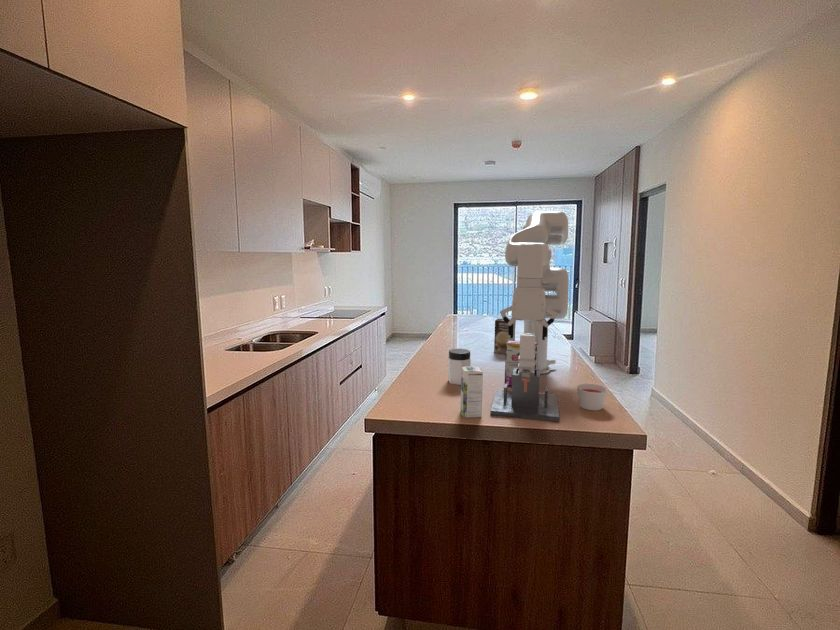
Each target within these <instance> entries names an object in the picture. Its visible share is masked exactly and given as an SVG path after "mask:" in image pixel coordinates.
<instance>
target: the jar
mask: <svg viewBox="0 0 840 630" xmlns="http://www.w3.org/2000/svg"><path fill="white" fill-rule="evenodd" d="M447 358H448V359H447V360H448V362H447V363H448V365H447V366H448V369H447V371H448V372H447V373H448V376H447V377H448V379H447V380H448V382H449V384H450V385H457V386H461V376H462V367H466V366H471V365H472V364H471V363H472V362H471V350H469V349H466V348H452V349H450V350H448V357H447Z"/></svg>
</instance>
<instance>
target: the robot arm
mask: <svg viewBox="0 0 840 630" xmlns="http://www.w3.org/2000/svg"><path fill="white" fill-rule="evenodd" d="M568 219H569V218H568V216H567V215H566V213H565V212H564V211H562V210H554V211H553V210H548V211H547V210H546V211H544V210H543V211H535V212H531V214H530V215H529V216H528V217H527V219H526V223H525V224H524V225H523V227H522V229H521V230H519V231H517V232H515V233H514V234H512V235H511V236H510V237H509V239H508V240H507V244H506V247H505V252H504V257H505V262H506V264H507V265H508V266H511V267H517V271H516V273H517V274H516V287H514V289H513V295H512V300H511V301H512V303H511V305H509V306H508V307H506V308H504V309H501V310H500V311H499V315H501V319H503V320H504V321H505V322H506V323H507V324H508V325H509V330H508V335H510V338H513V328H514V325H513V323H514V321H515V320H516V321H523V333H535V343H538V353H537V369H538V370H540V375H544V374H548V373H550V372H551V367H549V366H550V365H555V364H556V363H557V361H556V359H549V358H548V336H549V329H548V328H549V326H551V325H552V324H553V323H554V322H555V320H560V319H565V318H566V317H567V314H568V308H569V307H568V306H569V289H570V288H569V285H570V284H569V281H570V279H569V273H568V271H567V269H565V268H562V267H551V259H552V249H551V248H550V246H559V245H560V246H561V245H565V243H567V241H568V237H569V220H568ZM546 292H551V293H552V292H553V293H556V294H546ZM509 312H511V317H510V318H509V317H507V313H509ZM546 319H548V320H546Z"/></svg>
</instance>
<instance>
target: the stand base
mask: <svg viewBox="0 0 840 630" xmlns="http://www.w3.org/2000/svg"><path fill="white" fill-rule="evenodd" d="M518 371H519V369H518V368H514V370H513V374H512V386H511V390H508V386H507V384H505V383H504V387H503V390H501V389H496V390H495V395H494V399H493V402H492V404H491V408H490V416H495V417H504V418H513V419H514V418H516V419H523V420H535V421H544V422H545V421H547V422H555V423H557V422H558V423H560V412H559V404H558V395H557V394H552V393H551V394H549V393H548V391H549V390H548V388H549V387H548V386H544V393H542V392H541V393H540V379H541V376H540V375H541V374H540V370H538V369H535V370H534V371H535V372H534V375H530V371H522V375H520V374H518Z"/></svg>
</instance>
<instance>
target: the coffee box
mask: <svg viewBox="0 0 840 630" xmlns="http://www.w3.org/2000/svg"><path fill="white" fill-rule="evenodd" d="M516 322H517V320H515V321H514V323H513V325H514V328H513V338H510V335H508V330H509V325H508V324H507V323H506V322H505V321H504V320H503V318H496V319H495V320H494V337H493V338H494V339H493V341H494V344H493V353H494V354H503V355H504V354H505V355H506V343H507V341H516Z"/></svg>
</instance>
